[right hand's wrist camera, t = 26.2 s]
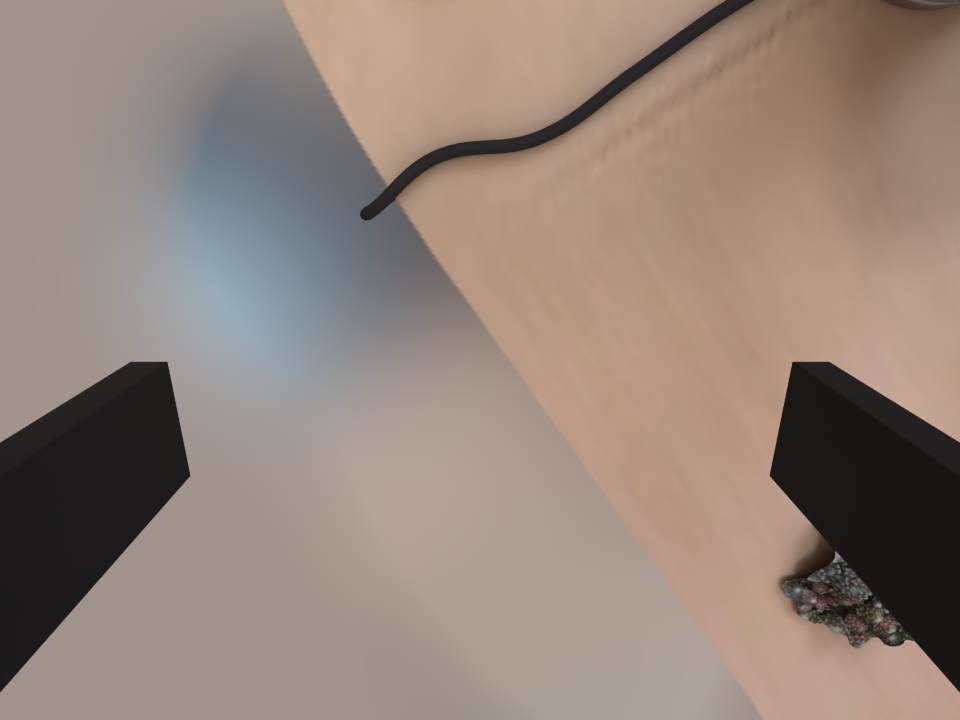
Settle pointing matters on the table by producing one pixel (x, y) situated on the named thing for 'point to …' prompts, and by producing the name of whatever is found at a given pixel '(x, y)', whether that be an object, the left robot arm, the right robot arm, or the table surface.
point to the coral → (844, 605)
